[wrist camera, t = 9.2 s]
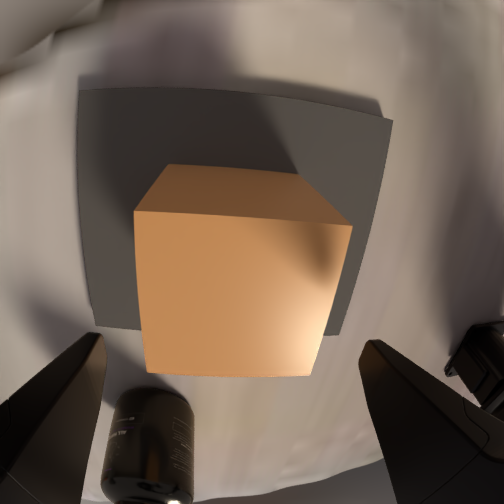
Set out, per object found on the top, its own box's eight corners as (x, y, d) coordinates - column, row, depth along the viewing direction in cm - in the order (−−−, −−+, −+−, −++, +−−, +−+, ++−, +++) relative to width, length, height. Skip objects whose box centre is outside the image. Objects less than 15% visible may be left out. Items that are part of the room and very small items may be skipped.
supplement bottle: (112, 378, 22) (83, 516, 11) (198, 390, 23) (199, 534, 13) (119, 423, 25) (103, 537, 14) (191, 433, 26) (193, 549, 15)
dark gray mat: (384, 118, 16) (393, 120, 15) (334, 326, 22) (338, 335, 21) (86, 90, 13) (79, 90, 12) (99, 316, 19) (95, 325, 18)
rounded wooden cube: (298, 174, 16) (352, 226, 9) (280, 284, 18) (309, 375, 12) (168, 163, 15) (133, 210, 9) (166, 279, 18) (147, 372, 11)
